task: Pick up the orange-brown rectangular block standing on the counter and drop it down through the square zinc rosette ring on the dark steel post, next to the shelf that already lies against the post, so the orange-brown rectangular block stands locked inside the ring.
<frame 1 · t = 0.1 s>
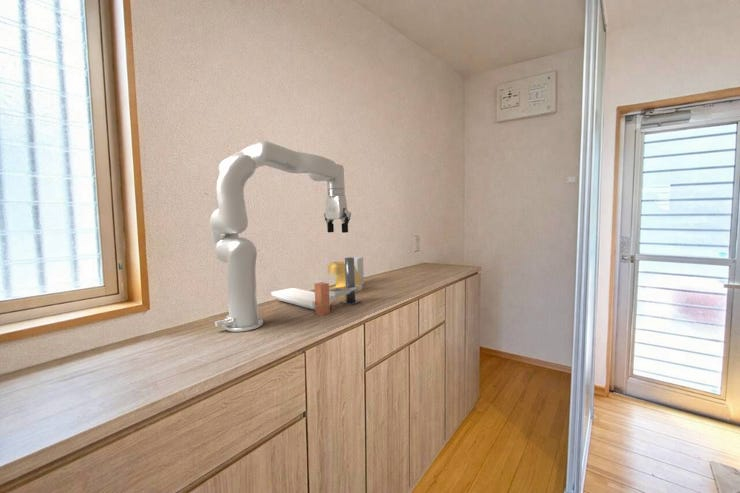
hand: (337, 232, 150), 31 cm above the worktop, tool pointing down, fingers open, 9 cm apart
skincare box: (356, 285, 187), on the worktop
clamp: (344, 293, 170), on the worktop
orange-brown rectangular block: (322, 313, 134), on the worktop
rosette post: (350, 302, 149), on the worktop
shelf: (302, 306, 147), on the worktop
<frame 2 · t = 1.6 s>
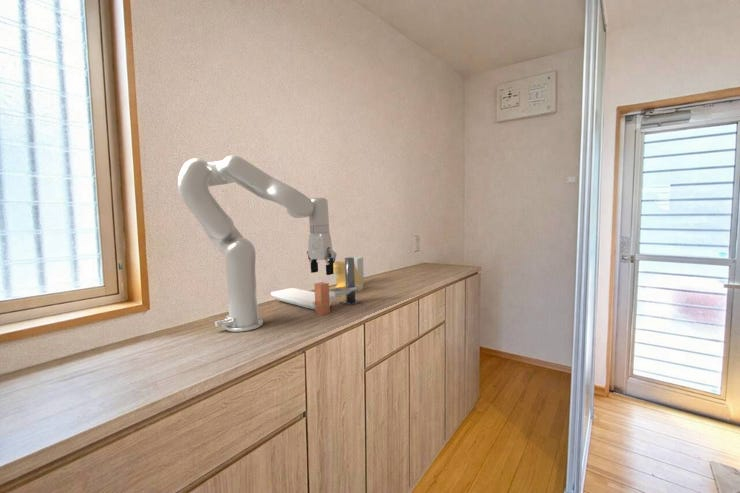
hand: (322, 273, 133), 16 cm above the worktop, tool pointing down, fingers open, 9 cm apart
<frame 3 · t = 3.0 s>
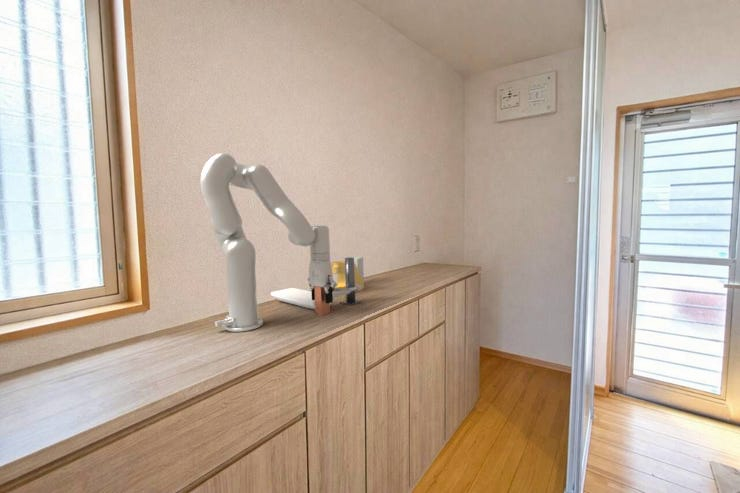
hand: (322, 300, 134), 5 cm above the worktop, tool pointing down, fingers open, 8 cm apart
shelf: (302, 306, 147), on the worktop, touching gripper
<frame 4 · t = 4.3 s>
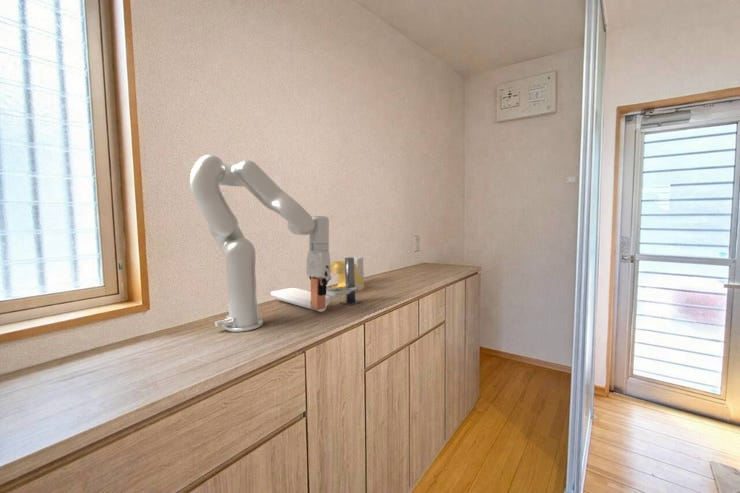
hand: (318, 293, 133), 8 cm above the worktop, tool pointing down, fingers closed on orange-brown rectangular block, 4 cm apart
orange-brown rectangular block: (318, 308, 133), point 2 cm above the worktop, touching gripper
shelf: (300, 306, 147), on the worktop
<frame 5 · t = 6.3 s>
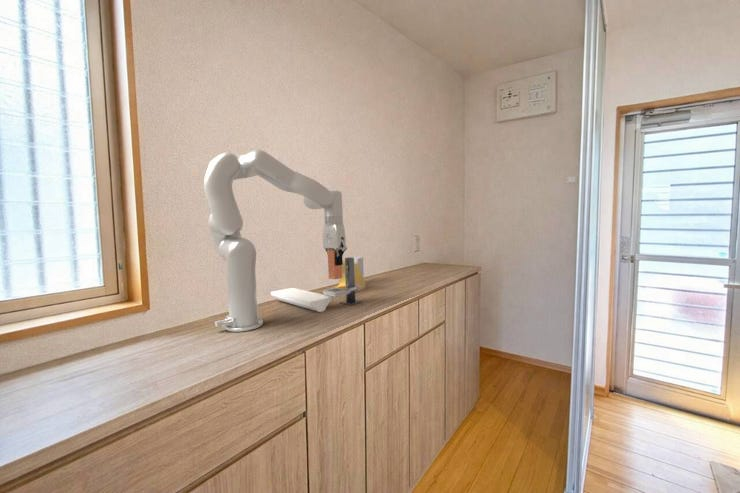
hand: (335, 264, 142), 18 cm above the worktop, tool pointing down, fingers closed on orange-brown rectangular block, 4 cm apart
orange-brown rectangular block: (335, 278, 142), point 12 cm above the worktop, touching gripper
when the fingers open (9 cm above the worktop, at t = 8.5 s): orange-brown rectangular block drops 3 cm, on the worktop.
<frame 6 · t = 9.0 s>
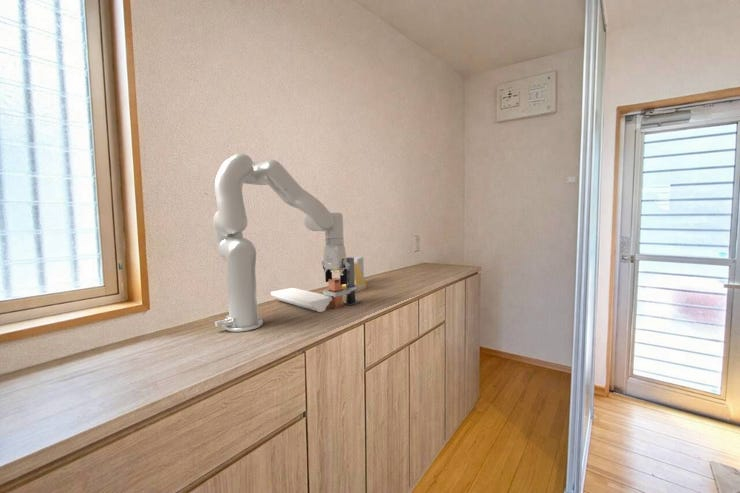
hand: (336, 282, 142), 10 cm above the worktop, tool pointing down, fingers open, 9 cm apart
orange-brown rectangular block: (336, 307, 143), on the worktop
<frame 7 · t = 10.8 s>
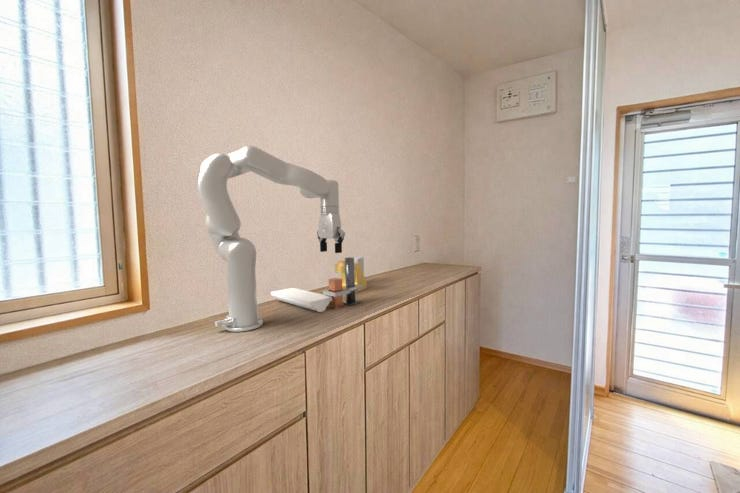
hand: (330, 252, 141), 23 cm above the worktop, tool pointing down, fingers open, 9 cm apart
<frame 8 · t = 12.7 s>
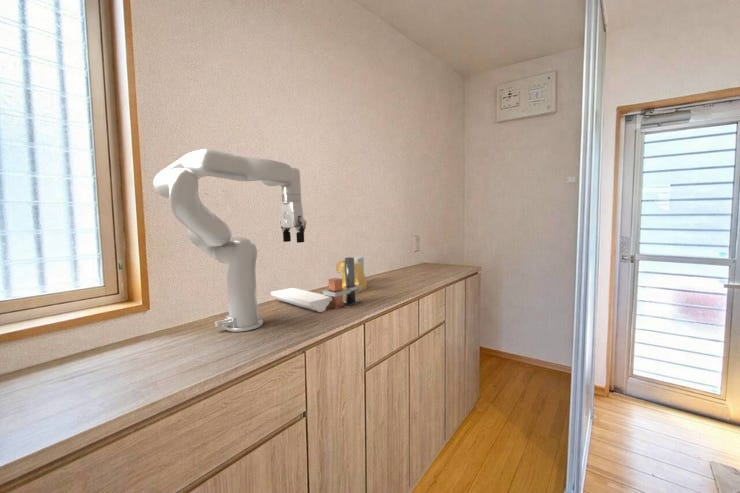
hand: (293, 241, 137), 28 cm above the worktop, tool pointing down, fingers open, 9 cm apart
at the end: orange-brown rectangular block 0.4 cm from the target spot on the rosette post, point 0.0 cm above the rosette post's base; orange-brown rectangular block tilted 0°; the gripper is holding nothing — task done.
